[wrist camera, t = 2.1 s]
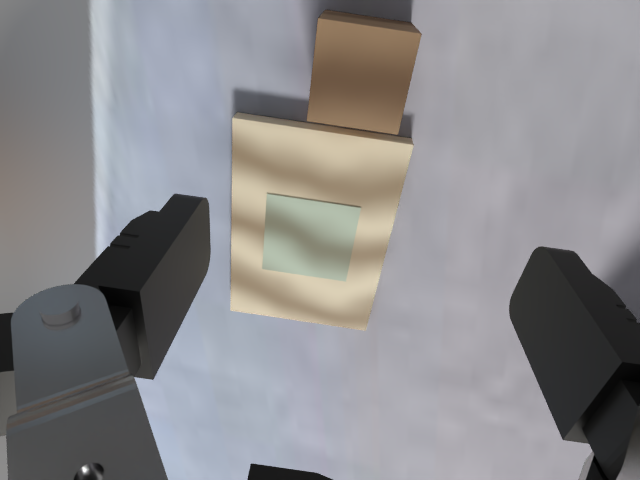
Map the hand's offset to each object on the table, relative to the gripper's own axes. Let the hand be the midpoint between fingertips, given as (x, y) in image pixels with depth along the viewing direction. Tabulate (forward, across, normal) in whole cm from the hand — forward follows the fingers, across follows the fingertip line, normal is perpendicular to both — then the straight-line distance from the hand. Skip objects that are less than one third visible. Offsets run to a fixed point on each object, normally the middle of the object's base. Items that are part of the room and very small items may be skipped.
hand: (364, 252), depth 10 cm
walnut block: (+24, 0, 0) cm, 24 cm away
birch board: (+24, +2, +15) cm, 28 cm away
